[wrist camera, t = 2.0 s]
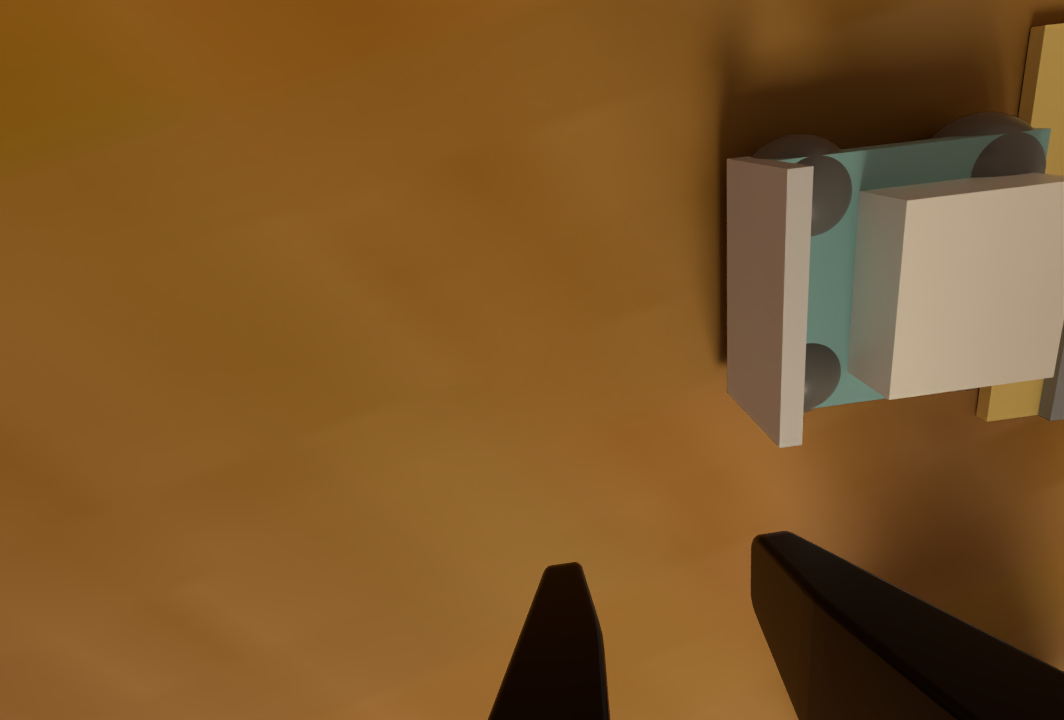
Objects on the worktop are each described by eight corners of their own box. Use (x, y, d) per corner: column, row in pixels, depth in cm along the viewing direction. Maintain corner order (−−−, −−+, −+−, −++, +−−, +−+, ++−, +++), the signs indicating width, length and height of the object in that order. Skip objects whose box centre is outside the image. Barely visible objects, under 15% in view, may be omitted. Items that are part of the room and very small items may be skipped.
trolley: (963, 363, 22) (1083, 423, 18) (718, 397, 22) (780, 466, 18) (997, 106, 19) (1148, 104, 15) (716, 138, 19) (790, 146, 15)
